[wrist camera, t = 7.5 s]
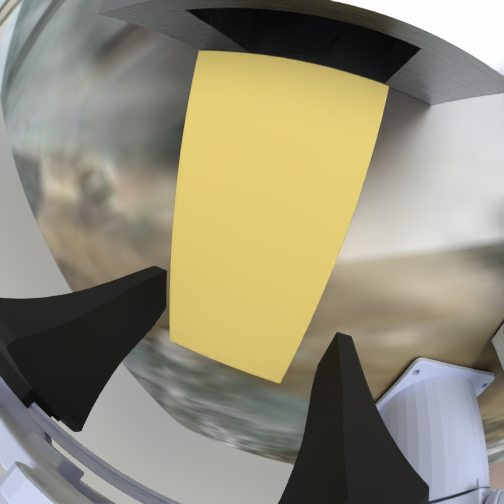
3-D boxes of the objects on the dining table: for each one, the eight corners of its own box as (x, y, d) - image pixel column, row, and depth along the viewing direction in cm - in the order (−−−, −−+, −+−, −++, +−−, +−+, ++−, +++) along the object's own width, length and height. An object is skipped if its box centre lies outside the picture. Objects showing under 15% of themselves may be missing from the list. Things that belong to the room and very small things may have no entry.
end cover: (297, 317, 14) (277, 388, 10) (214, 288, 14) (170, 346, 10) (367, 104, 8) (389, 86, 5) (252, 77, 9) (198, 50, 5)
